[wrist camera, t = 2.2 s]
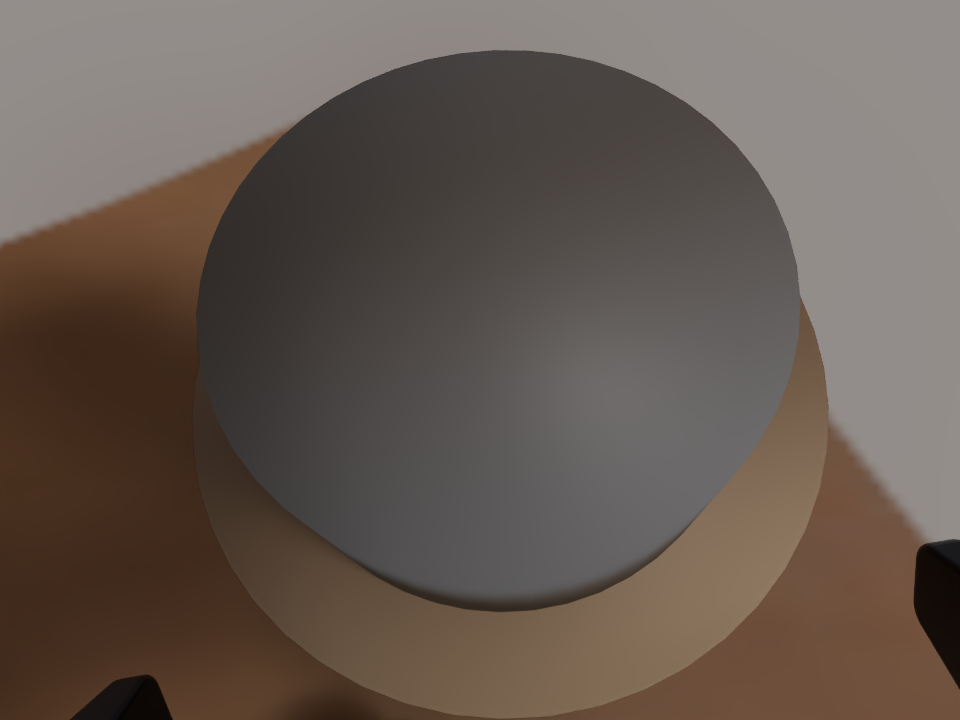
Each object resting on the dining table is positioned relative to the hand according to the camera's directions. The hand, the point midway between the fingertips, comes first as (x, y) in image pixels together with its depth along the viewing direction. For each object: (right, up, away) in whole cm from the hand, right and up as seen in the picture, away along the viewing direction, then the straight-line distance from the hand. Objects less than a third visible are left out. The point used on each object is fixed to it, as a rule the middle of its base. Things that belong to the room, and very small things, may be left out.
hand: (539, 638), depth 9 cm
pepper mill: (0, -2, +9) cm, 10 cm away
